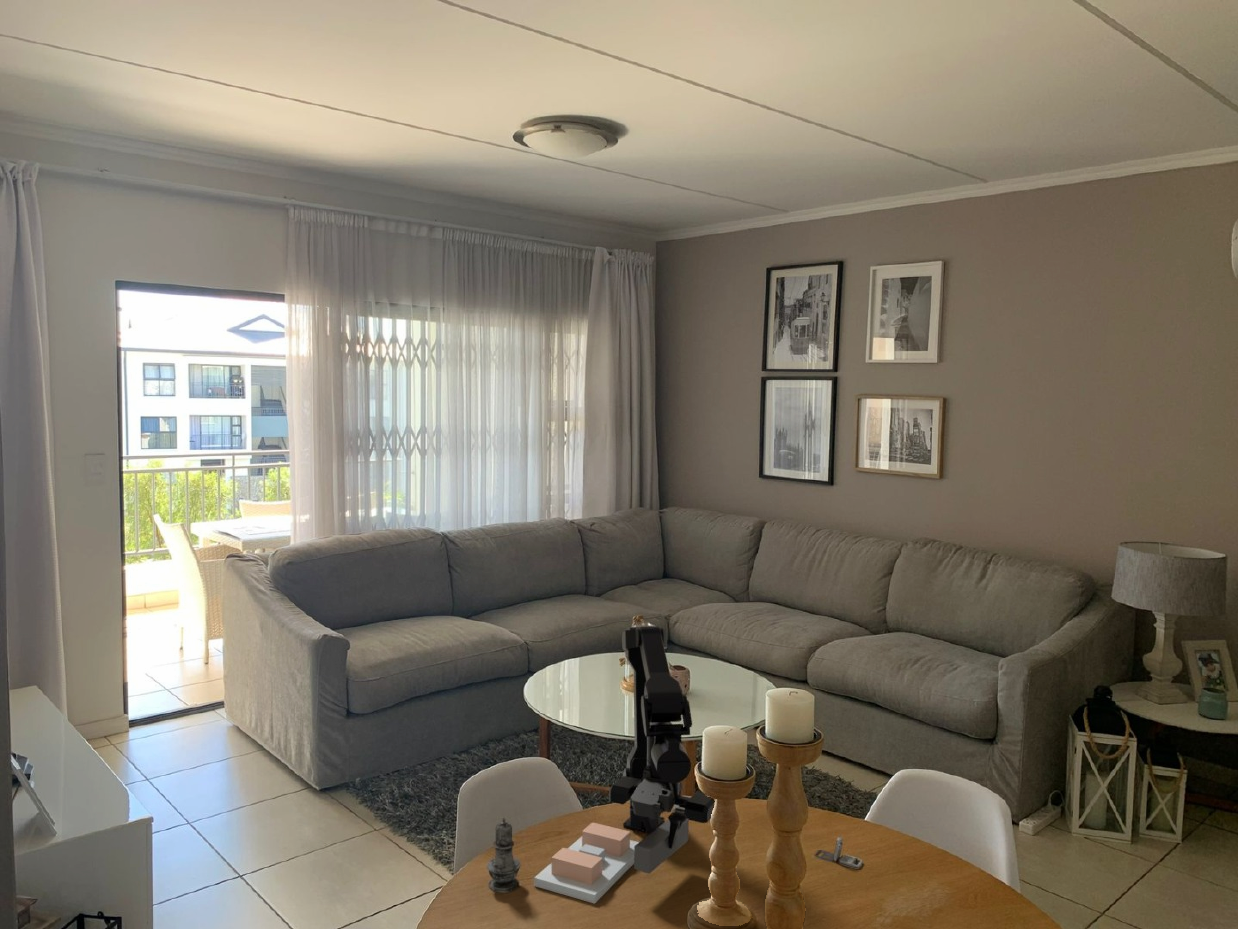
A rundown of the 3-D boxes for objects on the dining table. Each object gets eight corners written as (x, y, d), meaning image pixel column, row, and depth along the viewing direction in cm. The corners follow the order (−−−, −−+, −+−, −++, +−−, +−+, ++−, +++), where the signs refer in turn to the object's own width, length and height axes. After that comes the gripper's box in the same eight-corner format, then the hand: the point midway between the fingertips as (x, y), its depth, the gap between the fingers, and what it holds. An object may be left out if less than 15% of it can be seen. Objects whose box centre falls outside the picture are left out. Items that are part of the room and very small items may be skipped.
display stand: (589, 837, 177) (589, 814, 176) (645, 851, 171) (645, 828, 171) (534, 886, 159) (534, 861, 158) (594, 903, 153) (594, 878, 153)
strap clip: (863, 864, 168) (864, 842, 168) (858, 871, 165) (859, 848, 165) (819, 852, 172) (819, 830, 172) (813, 858, 170) (814, 836, 170)
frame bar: (673, 836, 167) (674, 815, 167) (688, 840, 166) (688, 819, 165) (634, 869, 155) (634, 846, 155) (649, 874, 154) (649, 851, 154)
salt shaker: (514, 895, 156) (514, 827, 155) (482, 891, 157) (481, 824, 156) (525, 877, 162) (525, 812, 161) (493, 874, 163) (493, 809, 162)
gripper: (594, 765, 156) (594, 853, 157) (695, 787, 148) (694, 880, 149) (623, 744, 166) (622, 826, 167) (719, 763, 158) (718, 850, 159)
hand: (662, 845), depth 160 cm, fingers closed on frame bar, 3 cm apart
